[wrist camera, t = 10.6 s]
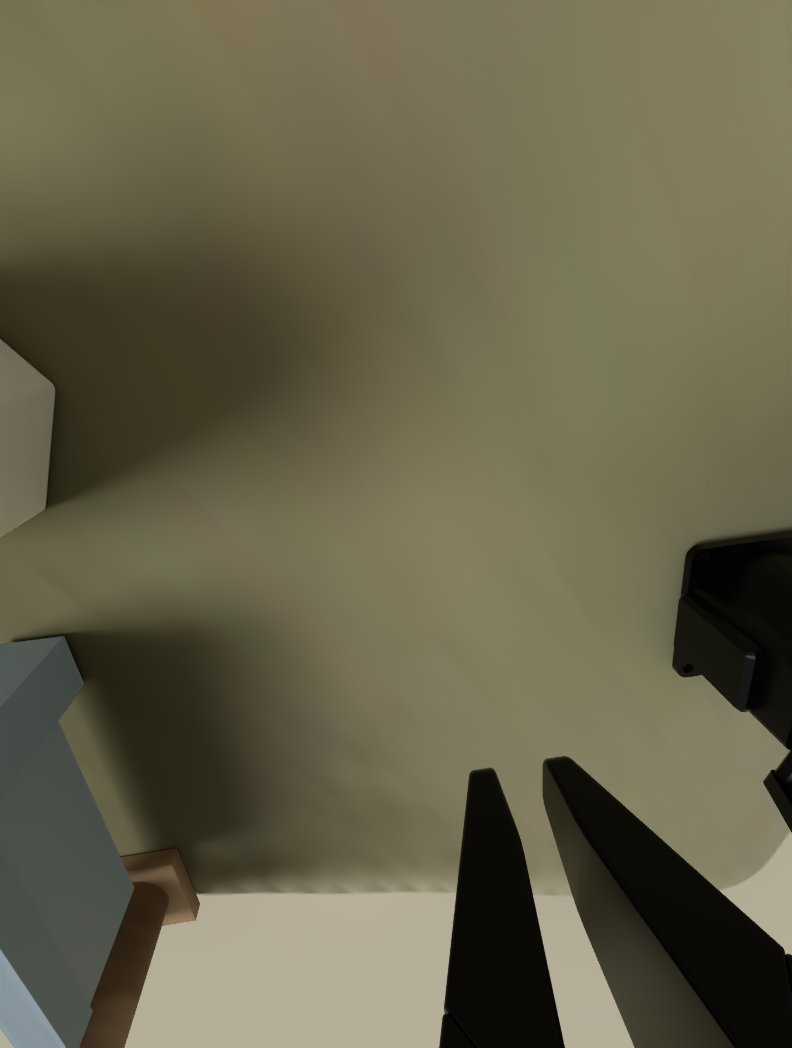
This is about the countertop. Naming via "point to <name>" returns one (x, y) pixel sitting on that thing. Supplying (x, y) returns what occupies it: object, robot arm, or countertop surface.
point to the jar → (23, 439)
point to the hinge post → (138, 942)
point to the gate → (50, 857)
